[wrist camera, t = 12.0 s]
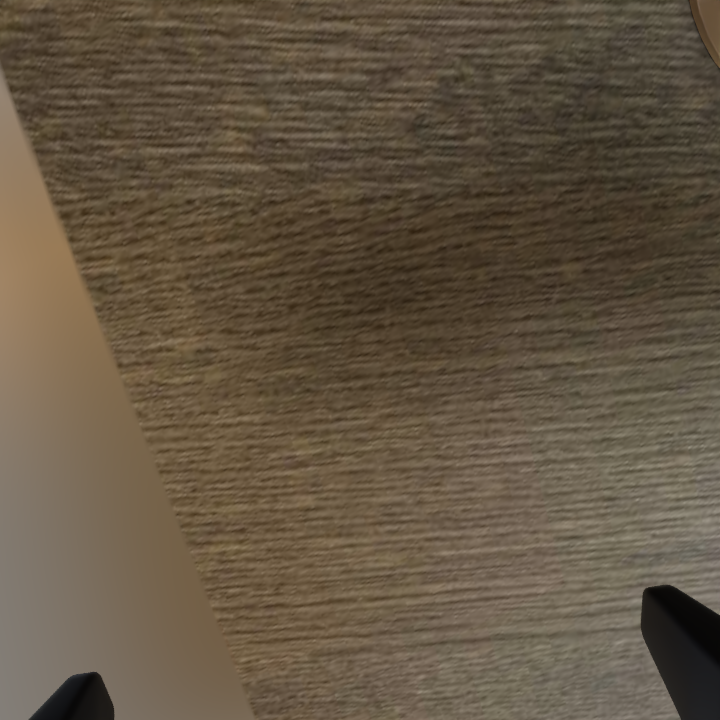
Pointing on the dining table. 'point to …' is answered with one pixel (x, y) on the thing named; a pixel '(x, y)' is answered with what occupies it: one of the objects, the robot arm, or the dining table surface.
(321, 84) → the dining table surface
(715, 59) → the coaster
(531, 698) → the dining table surface
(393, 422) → the dining table surface
